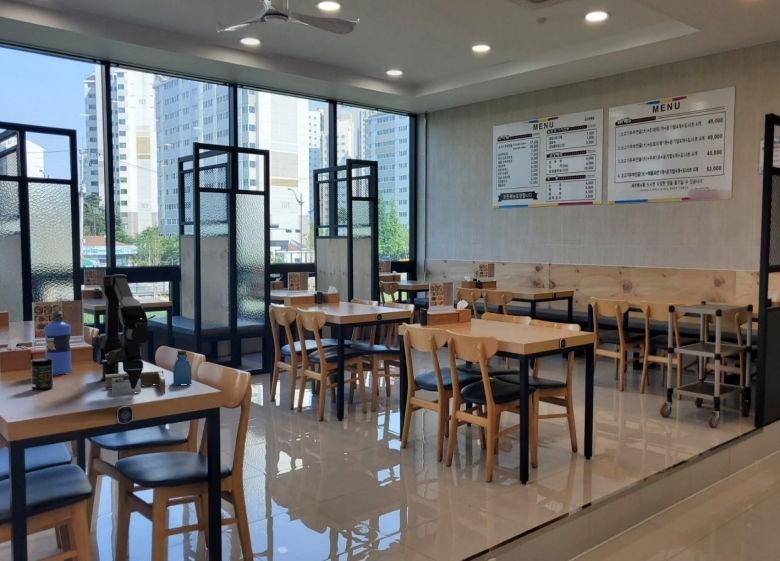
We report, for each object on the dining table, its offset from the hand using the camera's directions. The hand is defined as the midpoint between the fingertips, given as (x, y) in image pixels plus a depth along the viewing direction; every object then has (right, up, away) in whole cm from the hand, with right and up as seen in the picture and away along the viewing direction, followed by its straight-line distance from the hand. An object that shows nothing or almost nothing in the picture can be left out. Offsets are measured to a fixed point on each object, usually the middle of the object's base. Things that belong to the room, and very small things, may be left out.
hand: (132, 386), depth 221 cm
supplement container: (-34, -2, +6) cm, 35 cm away
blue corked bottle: (+12, -2, +14) cm, 19 cm away
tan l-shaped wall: (0, -2, +2) cm, 3 cm away
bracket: (-3, -2, +2) cm, 4 cm away
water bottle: (-44, -1, +37) cm, 57 cm away
